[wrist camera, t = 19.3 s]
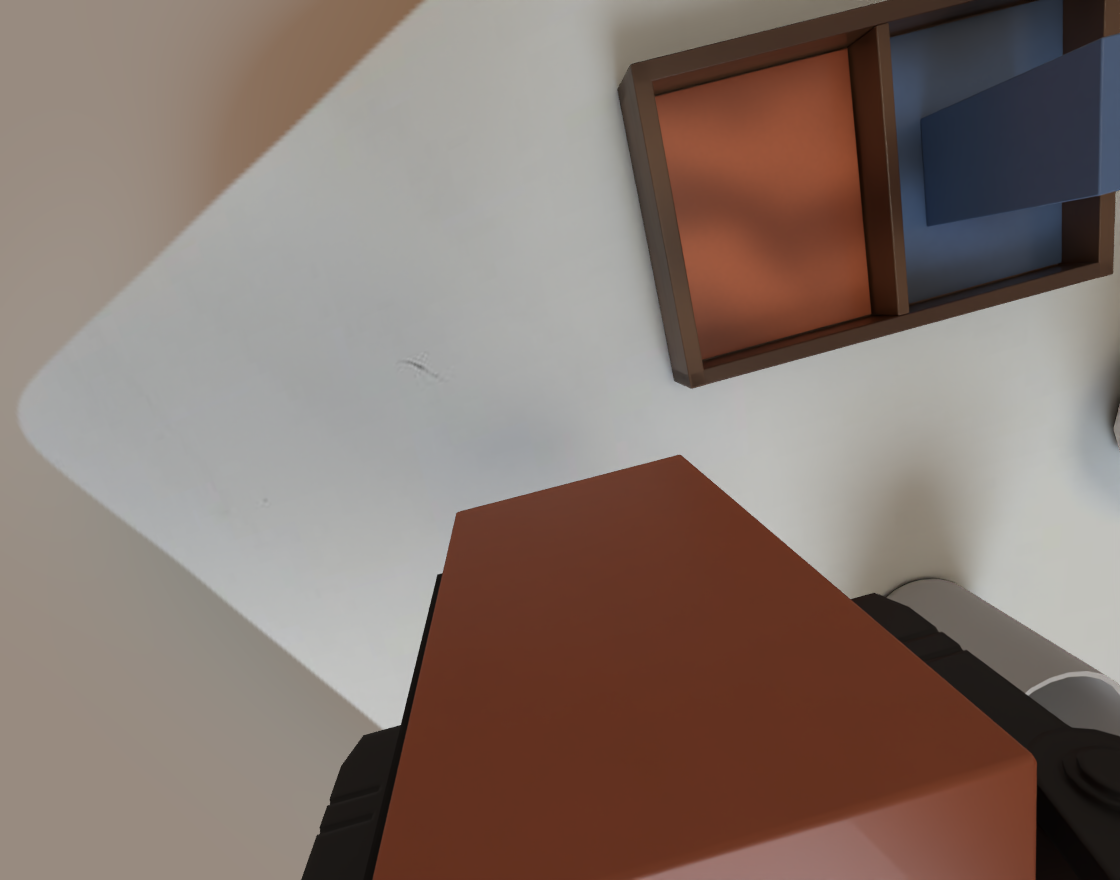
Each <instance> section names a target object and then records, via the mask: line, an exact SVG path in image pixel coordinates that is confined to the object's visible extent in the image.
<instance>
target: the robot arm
mask: <svg viewBox="0 0 1120 880" xmlns="http://www.w3.org/2000/svg"><path fill="white" fill-rule="evenodd" d="M442 574H443V573H442ZM442 574H438V575H437V579H436V583H435V587H434V591H433V595H432V599H431V604H430V608H429V612H428V616H427V620H426V624H425V628H424V632H423V636H422V641H421V645H420V649H419V653H418V657H417V661H416V665H415V669H414V673H413V678H412V682H411V686H410V690H409V694H408V698H407V702H406V706H405V710H404V714H403V719H402V723H401V725H400V726H396V727H392V728H389V729H385V730H381V731H378V732H374V733H370V734H367V735H363V737H362V738H361V740H360V741H359V742H358V744H357V745H356V746H355V748H354V749H353V751H352V752H351V753H350V755H349V756H348V757H347V759H346V760H345V762H344V763H343V764H342V766H341V768H340V771H339V774H338V777H337V780H336V782H335V785H334V788H333V791H332V794H331V797H330V805H328V806H327V808H326V811H325V814H324V817H323V819H322V822H321V825H320V834H319V835H317V836H316V840H315V842H314V845H313V848H312V851H311V854H310V856H309V859H308V862H307V865H306V868H305V871H304V874H303V876H302V879H301V880H373V875H374V871H375V866H376V862H377V858H378V853H379V849H380V845H381V840H382V836H383V832H384V827H385V823H386V818H387V814H388V810H389V805H390V801H391V797H392V792H393V788H394V784H395V779H396V775H397V770H398V766H399V762H400V757H401V753H402V749H403V744H404V740H405V736H406V731H407V727H408V722H409V718H410V714H411V709H412V705H413V701H414V696H415V692H416V687H417V683H418V679H419V674H420V670H421V666H422V661H423V657H424V653H425V648H426V644H427V639H428V635H429V631H430V626H431V622H432V618H433V613H434V609H435V605H436V600H437V596H438V591H439V587H440V583H441V578H442ZM851 600H852V601H853V602H854V603H855V604H857V605H858V606H859V607H860V608H861V609H862V610H864V611H865V612H866V613H867V614H868V615H869V616H871V617H872V618H873V619H874V620H875V621H877V622H878V623H879V624H880V625H881V626H882V627H884V628H885V629H886V630H887V631H888V632H889V633H891V634H892V635H893V636H894V637H895V638H897V639H898V640H899V641H900V642H901V643H902V644H904V645H905V646H906V647H907V648H908V649H909V650H911V651H912V652H913V653H914V654H915V655H916V656H918V657H919V658H920V659H921V660H922V661H924V662H925V663H926V664H927V665H928V666H929V667H931V668H932V669H933V670H934V671H935V672H936V673H938V674H939V675H940V676H941V677H942V678H944V679H945V680H946V681H947V682H948V683H949V684H951V685H952V686H953V687H954V688H955V689H956V690H958V691H959V692H960V693H961V694H962V695H963V696H965V697H966V698H967V699H968V700H969V701H971V702H972V703H973V704H974V705H975V706H976V707H978V708H979V709H980V710H981V711H982V712H983V713H985V714H986V715H987V716H988V717H989V718H991V719H992V720H993V721H994V722H995V723H996V724H998V725H999V726H1000V727H1001V728H1002V729H1003V730H1005V731H1006V732H1007V733H1008V734H1009V735H1011V736H1012V737H1013V738H1014V739H1015V740H1016V741H1018V742H1019V743H1020V744H1021V745H1022V746H1023V747H1025V748H1026V749H1027V750H1028V751H1029V752H1030V753H1032V755H1033V756H1034V758H1035V759H1036V762H1037V802H1036V880H1120V736H1118V735H1114V734H1110V733H1107V732H1103V731H1100V730H1096V729H1085V728H1072V727H1070V726H1069V725H1067V724H1066V723H1064V722H1063V721H1062V720H1060V719H1059V718H1058V717H1056V716H1055V715H1054V714H1052V713H1051V712H1049V711H1048V710H1047V709H1045V708H1044V707H1043V706H1041V705H1040V704H1039V703H1037V702H1036V701H1035V700H1033V699H1032V698H1031V697H1029V696H1028V695H1027V694H1025V693H1024V692H1023V691H1021V690H1020V689H1019V688H1017V687H1016V686H1015V685H1013V684H1012V683H1011V682H1009V681H1008V680H1007V679H1005V678H1004V677H1003V676H1001V675H1000V674H998V673H997V672H996V671H994V670H993V669H992V668H990V667H989V666H988V665H986V664H985V663H984V662H982V661H981V660H980V659H978V658H977V657H976V656H974V655H973V654H972V653H970V652H969V651H968V650H963V649H962V648H961V646H960V644H958V643H957V642H956V641H954V640H953V639H952V638H950V637H949V636H947V635H946V634H945V633H943V632H939V631H938V630H937V627H935V626H934V625H933V624H931V623H930V622H929V621H927V620H926V619H925V618H923V617H922V616H921V615H919V614H918V613H917V612H915V611H914V610H913V609H911V608H910V607H908V606H906V605H903V604H901V603H898V602H896V601H893V600H891V599H888V598H886V597H883V596H881V595H878V594H876V593H872V594H868V595H865V596H861V597H857V598H854V599H851Z"/></svg>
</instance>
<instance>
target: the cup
mask: <svg viewBox="0 0 1120 880" xmlns="http://www.w3.org/2000/svg"><path fill="white" fill-rule="evenodd" d="M886 598H888V599H891V600H893V601H896V602H898V603H901V604H903V605H906V606H908V607H910V608H911V609H913V610H914V611H915V612H917V613H918V614H919V615H921V616H922V617H923V618H925V619H926V620H927V621H929V622H930V623H931V624H933V625H934V626H935V627H937V630H938V631H939V632H943V633H945V634H946V635H947V636H949V637H950V638H952V639H953V640H954V641H956V642H957V643H958V644H960V646H961V648H962V649H963V650H968V651H969V652H970V653H972V654H973V655H974V656H976V657H977V658H978V659H980V660H981V661H982V662H984V663H985V664H986V665H988V666H989V667H990V668H992V669H993V670H994V671H996V672H997V673H998V674H1000V675H1001V676H1003V677H1004V678H1005V679H1007V680H1008V681H1009V682H1011V683H1012V684H1013V685H1015V686H1016V687H1017V688H1019V689H1020V690H1021V691H1023V692H1024V693H1025V694H1027V695H1028V696H1029V697H1031V698H1032V699H1033V700H1035V701H1036V702H1037V703H1039V704H1040V705H1041V706H1043V707H1044V708H1045V709H1047V710H1048V711H1049V712H1051V713H1052V714H1054V715H1055V716H1056V717H1058V718H1059V719H1060V720H1062V721H1063V722H1064V723H1066V724H1067V725H1069V726H1070V727H1072V728H1085V729H1096V730H1100V731H1103V732H1107V733H1110V734H1114V735H1118V736H1120V686H1119V684H1118V683H1117V682H1116V681H1114V680H1112V679H1111V678H1109V677H1107V676H1106V675H1104V674H1103V673H1101V672H1099V671H1098V670H1096V669H1094V668H1093V667H1091V666H1090V665H1088V664H1086V663H1085V662H1083V661H1081V660H1080V659H1078V658H1077V657H1075V656H1073V655H1072V654H1070V653H1068V652H1067V651H1065V650H1064V649H1062V648H1060V647H1059V646H1057V645H1055V644H1054V643H1052V642H1051V641H1049V640H1047V639H1046V638H1044V637H1042V636H1041V635H1039V634H1038V633H1036V632H1034V631H1033V630H1031V629H1030V628H1028V627H1026V626H1025V625H1023V624H1021V623H1020V622H1018V621H1017V620H1015V619H1013V618H1012V617H1010V616H1008V615H1007V614H1005V613H1004V612H1002V611H1000V610H999V609H997V608H995V607H994V606H992V605H991V604H989V603H987V602H986V601H984V600H982V599H981V598H979V597H978V596H976V595H974V594H973V593H971V592H969V591H968V590H966V589H964V588H963V587H961V586H959V585H957V584H955V583H953V582H950V581H946V580H942V579H925V580H918V581H914V582H911V583H907V584H905V585H904V586H902V587H900V588H898V589H896V590H894V591H893V592H892V593H891V594H890V595H889V596H887V597H886Z"/></svg>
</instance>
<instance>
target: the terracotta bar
mask: <svg viewBox="0 0 1120 880" xmlns="http://www.w3.org/2000/svg"><path fill="white" fill-rule="evenodd" d="M1036 802H1037V762H1036V759H1035V758H1034V756H1033V755H1032V753H1030V752H1029V751H1028V750H1027V749H1026V748H1025V747H1023V746H1022V745H1021V744H1020V743H1019V742H1018V741H1016V740H1015V739H1014V738H1013V737H1012V736H1011V735H1009V734H1008V733H1007V732H1006V731H1005V730H1003V729H1002V728H1001V727H1000V726H999V725H998V724H996V723H995V722H994V721H993V720H992V719H991V718H989V717H988V716H987V715H986V714H985V713H983V712H982V711H981V710H980V709H979V708H978V707H976V706H975V705H974V704H973V703H972V702H971V701H969V700H968V699H967V698H966V697H965V696H963V695H962V694H961V693H960V692H959V691H958V690H956V689H955V688H954V687H953V686H952V685H951V684H949V683H948V682H947V681H946V680H945V679H944V678H942V677H941V676H940V675H939V674H938V673H936V672H935V671H934V670H933V669H932V668H931V667H929V666H928V665H927V664H926V663H925V662H924V661H922V660H921V659H920V658H919V657H918V656H916V655H915V654H914V653H913V652H912V651H911V650H909V649H908V648H907V647H906V646H905V645H904V644H902V643H901V642H900V641H899V640H898V639H897V638H895V637H894V636H893V635H892V634H891V633H889V632H888V631H887V630H886V629H885V628H884V627H882V626H881V625H880V624H879V623H878V622H877V621H875V620H874V619H873V618H872V617H871V616H869V615H868V614H867V613H866V612H865V611H864V610H862V609H861V608H860V607H859V606H858V605H857V604H855V603H854V602H853V601H852V600H851V599H850V598H848V597H847V596H846V595H845V594H844V593H842V592H841V591H840V590H839V589H838V588H837V587H835V586H834V585H833V584H832V583H831V582H830V581H828V580H827V579H826V578H825V577H824V576H822V575H821V574H820V573H819V572H818V571H817V570H815V569H814V568H813V567H812V566H811V565H810V564H808V563H807V562H806V561H805V560H804V559H802V558H801V557H800V556H799V555H798V554H797V553H795V552H794V551H793V550H792V549H791V548H790V547H788V546H787V545H786V544H785V543H784V542H783V541H781V540H780V539H779V538H778V537H777V536H775V535H774V534H773V533H772V532H771V531H770V530H768V529H767V528H766V527H765V526H764V525H763V524H761V523H760V522H759V521H758V520H757V519H755V518H754V517H753V516H752V515H751V514H750V513H748V512H747V511H746V510H745V509H744V508H743V507H741V506H740V505H739V504H738V503H737V502H736V501H734V500H733V499H732V498H731V497H730V496H728V495H727V494H726V493H725V492H724V491H723V490H721V489H720V488H719V487H718V486H717V485H716V484H714V483H713V482H712V481H711V480H710V479H708V478H707V477H706V476H705V475H704V474H703V473H701V472H700V471H699V470H698V469H697V468H696V467H694V466H693V465H692V464H691V463H690V462H689V461H687V460H686V459H685V458H684V457H683V456H681V455H676V456H673V457H669V458H665V459H661V460H657V461H653V462H649V463H645V464H642V465H638V466H634V467H630V468H626V469H622V470H618V471H615V472H611V473H607V474H603V475H599V476H595V477H591V478H588V479H584V480H580V481H576V482H572V483H568V484H564V485H560V486H557V487H553V488H549V489H545V490H541V491H537V492H533V493H530V494H526V495H522V496H518V497H514V498H510V499H506V500H503V501H499V502H495V503H491V504H487V505H483V506H479V507H475V508H472V509H468V510H464V511H460V512H457V513H456V517H455V522H454V526H453V530H452V535H451V539H450V543H449V548H448V552H447V557H446V561H445V565H444V570H443V574H442V578H441V583H440V587H439V591H438V596H437V600H436V605H435V609H434V613H433V618H432V622H431V626H430V631H429V635H428V639H427V644H426V648H425V653H424V657H423V661H422V666H421V670H420V674H419V679H418V683H417V687H416V692H415V696H414V701H413V705H412V709H411V714H410V718H409V722H408V727H407V731H406V736H405V740H404V744H403V749H402V753H401V757H400V762H399V766H398V770H397V775H396V779H395V784H394V788H393V792H392V797H391V801H390V805H389V810H388V814H387V818H386V823H385V827H384V832H383V836H382V840H381V845H380V849H379V853H378V858H377V862H376V866H375V871H374V875H373V880H1036Z"/></svg>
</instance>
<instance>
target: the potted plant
mask: <svg viewBox="0 0 1120 880" xmlns="http://www.w3.org/2000/svg"><path fill="white" fill-rule="evenodd" d="M1114 433H1115V436H1116V440H1117V443H1118V447H1119V450H1120V405H1119V409H1118V413H1117V417H1116V421H1115V425H1114Z"/></svg>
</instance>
